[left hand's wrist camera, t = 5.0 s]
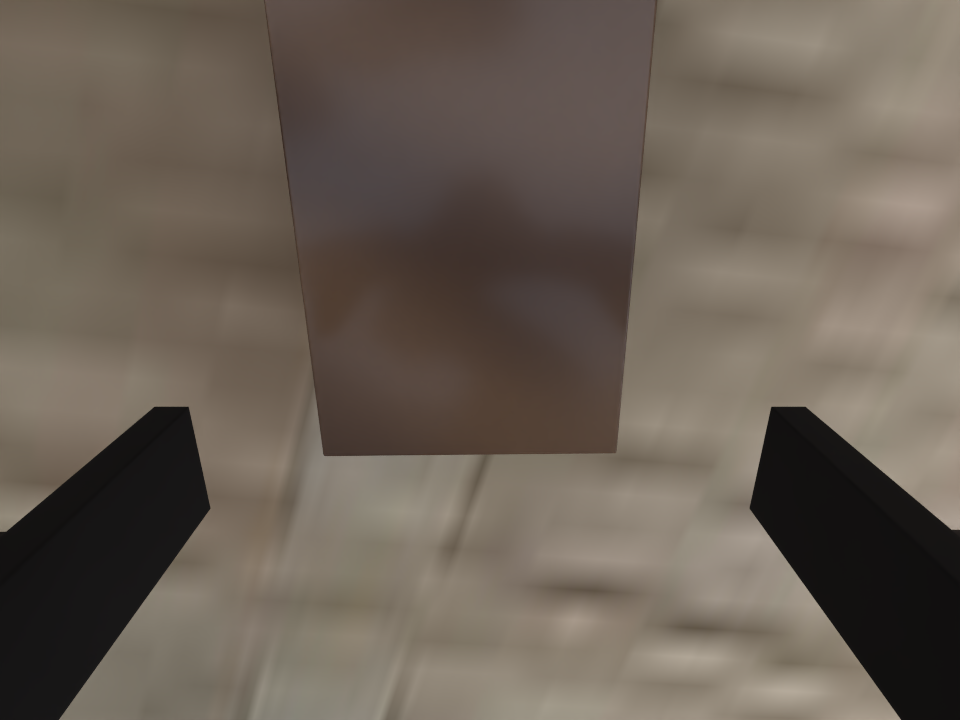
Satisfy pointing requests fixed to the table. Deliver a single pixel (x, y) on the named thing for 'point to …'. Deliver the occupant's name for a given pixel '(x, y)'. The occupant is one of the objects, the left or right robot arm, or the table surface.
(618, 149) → the long brown box
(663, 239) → the table surface
